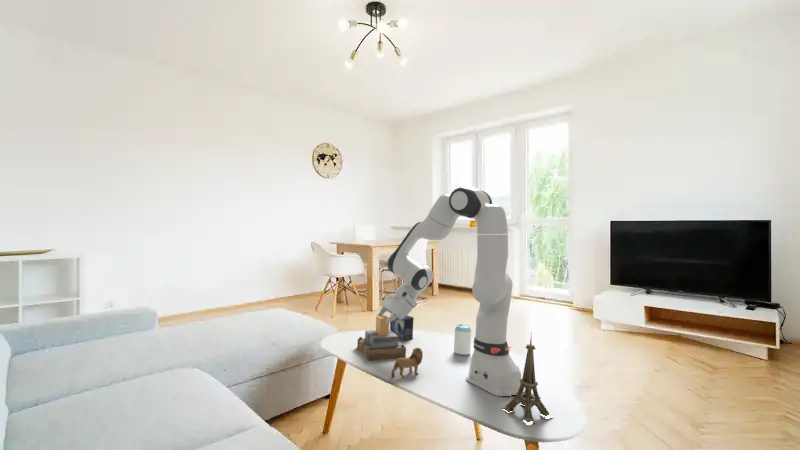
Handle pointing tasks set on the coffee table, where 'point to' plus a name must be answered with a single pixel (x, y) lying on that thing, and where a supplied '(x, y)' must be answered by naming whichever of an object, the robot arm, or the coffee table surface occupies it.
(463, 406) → the coffee table surface
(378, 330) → the orange brick
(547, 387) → the coffee table surface
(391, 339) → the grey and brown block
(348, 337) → the coffee table surface
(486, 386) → the robot arm
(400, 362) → the lion figurine
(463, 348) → the can
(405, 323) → the small box
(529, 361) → the eiffel tower
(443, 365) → the coffee table surface
